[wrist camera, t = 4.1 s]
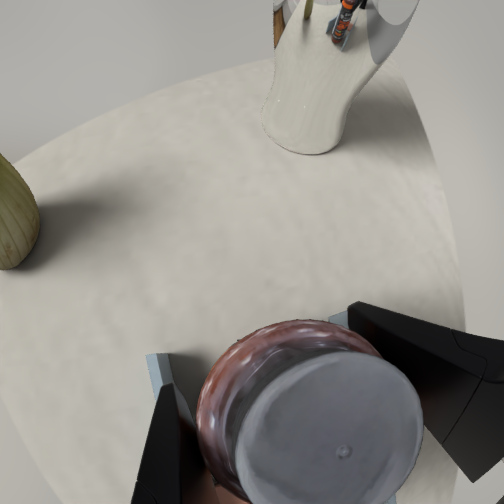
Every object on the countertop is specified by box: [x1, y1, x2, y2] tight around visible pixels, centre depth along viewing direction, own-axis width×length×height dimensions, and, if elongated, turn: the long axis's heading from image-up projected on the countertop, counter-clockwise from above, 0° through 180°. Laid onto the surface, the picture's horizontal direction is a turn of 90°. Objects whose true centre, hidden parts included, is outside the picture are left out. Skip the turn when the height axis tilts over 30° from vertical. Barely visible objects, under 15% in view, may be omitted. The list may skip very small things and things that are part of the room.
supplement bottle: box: [196, 319, 424, 504], centre depth 10 cm, size 6×6×11 cm
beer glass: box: [261, 0, 419, 155], centre depth 14 cm, size 7×7×15 cm
